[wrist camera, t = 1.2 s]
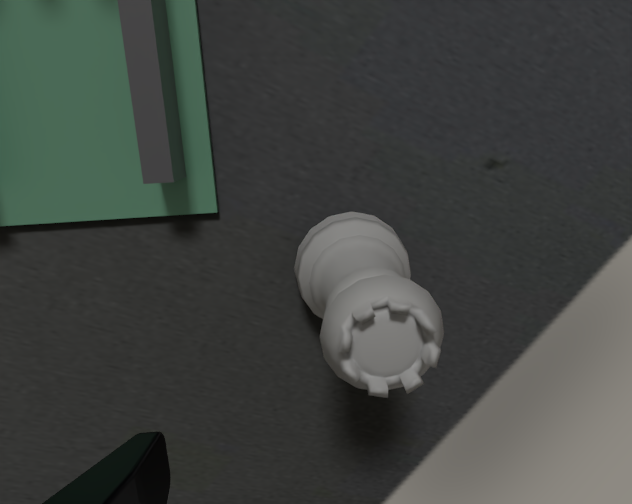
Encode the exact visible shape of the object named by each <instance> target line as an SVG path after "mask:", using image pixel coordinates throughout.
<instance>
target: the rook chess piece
mask: <svg viewBox="0 0 632 504" xmlns="http://www.w3.org/2000/svg"><path fill="white" fill-rule="evenodd" d="M294 270H295V274H296V279H297V284H298V288H299V290H300V294H301V297H302V298H303V299H304V301H305V302H306V304H307V305H308V306H309V308H310V309H311V311H312V312H313V313H314V314H315V315H317V316H318V317H320V318H322V319H323V323H322V327H321V332H320V341H321V345H322V350H323V355H324V359H325V360H326V361H327V363H328V364H329V366H330V367H331V368H332V370H333V371H334V372H335V374H336V375H337V376H338V377H339V378H341V379H343V380H344V381H346V382H348V383H349V384H351V385H353V386H354V387H356V388H360V389H366V390H367V391H368V395H371V396H378V397H384V398H388V390H390V389H395V388H400V387H404V388H405V390H406V392H407V394H408V393H410V392H411V391H413V390H415V389H416V388H418V387H419V386H421V385H423V384H424V382H423V380H422V379H421V377H420V376H422V375H423V374H424V373H425V372H426V371H427V369H428V368H429V367H430V366H432V367H434V368H436V367H437V363H438V360H439V356H440V352H441V349H440V347H441V343H442V339H443V336H444V329H443V322H442V315H441V311H440V309H439V307H438V306H437V304H436V303H435V301H434V300H433V298H432V296H431V295H430V293H429V292H428V291H426V290H425V289H423V288H422V287H420V286H419V285H417V284H416V283H414V282H413V281H411V280H410V276H411V271H410V265H409V258H408V252H407V250H406V249H405V247H404V246H403V244H402V242H401V241H400V239H399V238H398V236H397V235H396V233H395V231H394V230H393V228H392V227H390V226H389V225H387V224H386V223H384V222H383V221H381V220H380V219H378V218H377V217H375V216H373V215H367V214H362V213H357V212H348V213H343V214H338V215H333V216H329V217H328V218H326V219H325V220H323V221H322V222H320V223H319V224H317V225H316V226H314V227H313V228H311V229H310V231H309V232H308V234H307V235H306V237H305V238H304V240H303V241H302V243H301V244H300V246H299V247H298V252H297V257H296V262H295V267H294Z"/></svg>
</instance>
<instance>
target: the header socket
mask: <svg viewBox="0 0 632 504" xmlns="http://www.w3.org/2000/svg"><path fill="white" fill-rule="evenodd" d="M217 212H218V202H217V193H216V183H215V174H214V164H213V155H212V146H211V136H210V127H209V117H208V108H207V98H206V89H205V79H204V70H203V60H202V51H201V41H200V32H199V23H198V13H197V4H196V0H0V226H14V225H29V224H45V223H61V222H77V221H92V220H108V219H124V218H139V217H155V216H171V215H187V214H202V213H217Z"/></svg>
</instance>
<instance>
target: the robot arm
mask: <svg viewBox="0 0 632 504" xmlns="http://www.w3.org/2000/svg"><path fill="white" fill-rule="evenodd" d="M169 489H170V469H169V462H168V456H167V449H166V442H165V438H164V435H163V434H162V433H161V432H147V433H139V434H137V435H135V436H134V437H132V438H131V439H130V440H128V441H127V442H126V443H124V444H123V445H121V446H120V447H119V448H117V449H116V450H115V451H113V452H112V453H111V454H109V455H108V456H106V457H105V458H104V459H102V460H101V461H100V462H98V463H97V464H96V465H94V466H93V467H91V468H90V469H89V470H87V471H86V472H85V473H83V474H82V475H81V476H79V477H78V478H76V479H75V480H74V481H72V482H71V483H70V484H68V485H67V486H65V487H64V488H63V489H61V490H60V491H59V492H57V493H56V494H55V495H53V496H52V497H50V498H49V499H48V500H46V501H45V502H44V503H42V504H167V499H168V494H169Z"/></svg>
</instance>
